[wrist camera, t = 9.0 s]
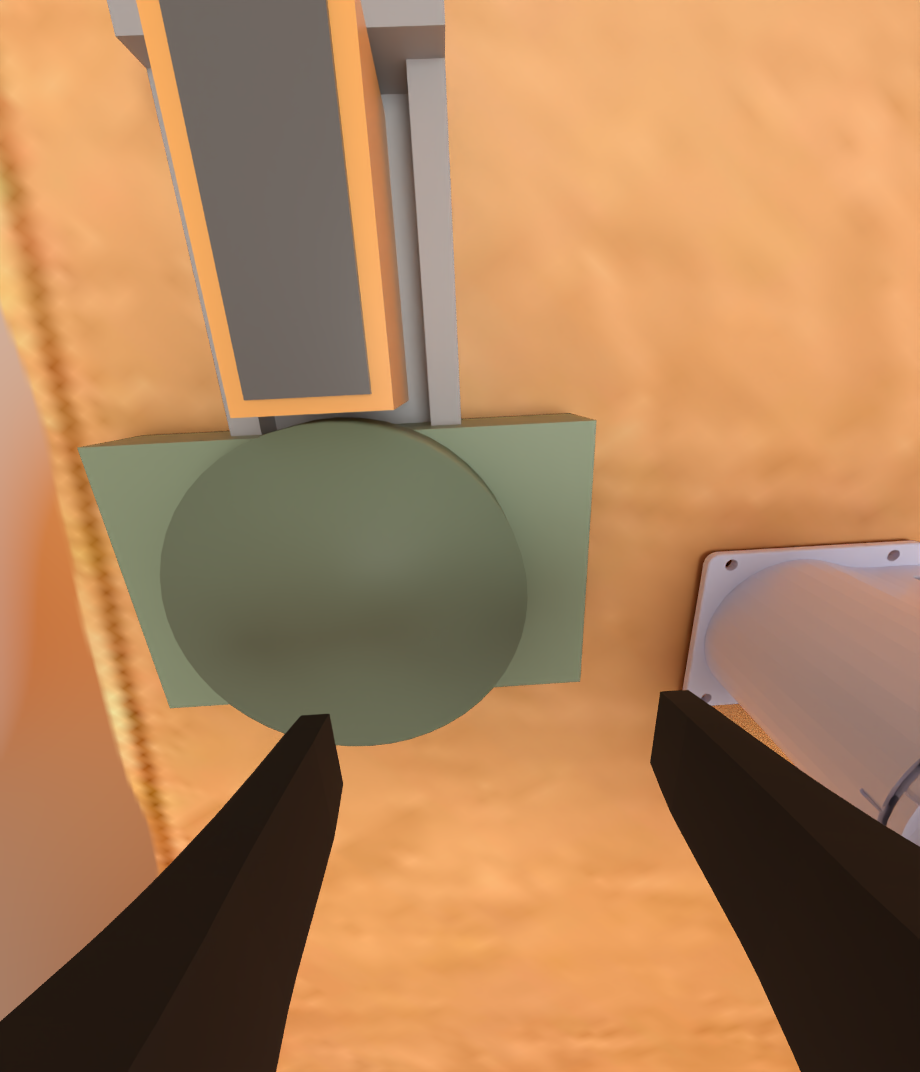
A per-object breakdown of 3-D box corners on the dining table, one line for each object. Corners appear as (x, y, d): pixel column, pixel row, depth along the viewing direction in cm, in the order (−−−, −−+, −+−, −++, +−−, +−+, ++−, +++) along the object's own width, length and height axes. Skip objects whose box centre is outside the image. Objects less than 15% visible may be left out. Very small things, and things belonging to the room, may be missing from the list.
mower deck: (583, 56, 13) (668, -135, 8) (560, 647, 20) (596, 730, 15) (33, 75, 12) (-218, -112, 8) (212, 669, 19) (139, 761, 15)
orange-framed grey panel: (384, 112, 12) (347, -60, 8) (409, 400, 15) (393, 410, 10) (246, 117, 12) (118, -53, 7) (296, 406, 15) (226, 418, 10)
